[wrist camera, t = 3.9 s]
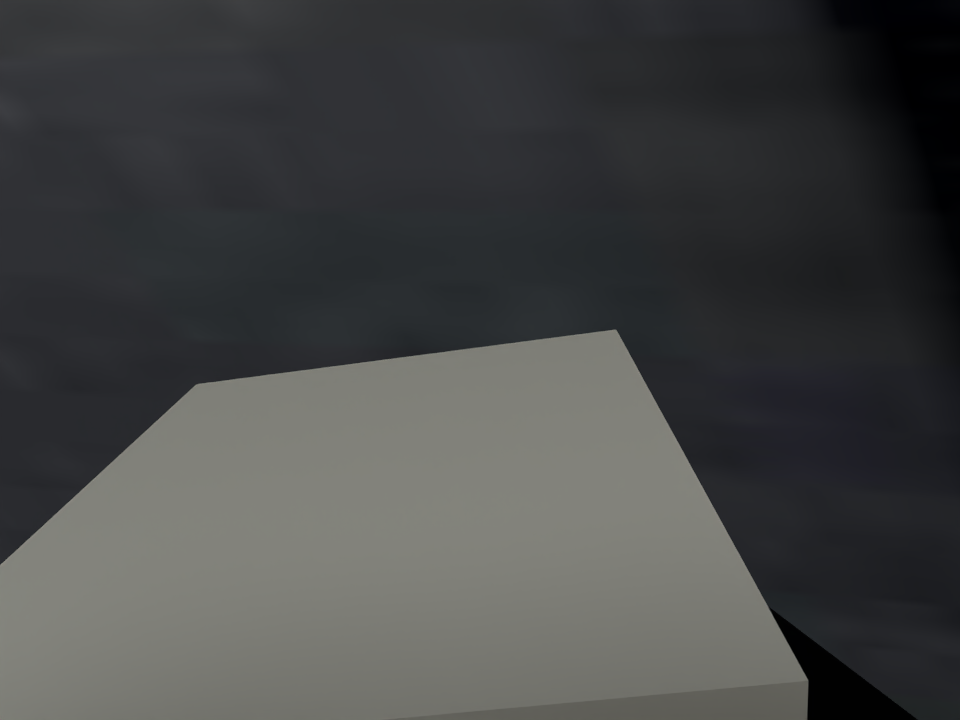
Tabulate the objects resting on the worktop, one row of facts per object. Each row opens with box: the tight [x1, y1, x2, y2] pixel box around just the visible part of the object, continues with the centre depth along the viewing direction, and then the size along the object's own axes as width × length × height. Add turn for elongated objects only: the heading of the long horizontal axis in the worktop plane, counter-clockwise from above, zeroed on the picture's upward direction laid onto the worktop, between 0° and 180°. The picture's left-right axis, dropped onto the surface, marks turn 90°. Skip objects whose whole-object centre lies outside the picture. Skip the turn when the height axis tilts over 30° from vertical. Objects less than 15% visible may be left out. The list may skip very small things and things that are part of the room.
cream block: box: [0, 330, 808, 720], centre depth 6 cm, size 5×5×5 cm
